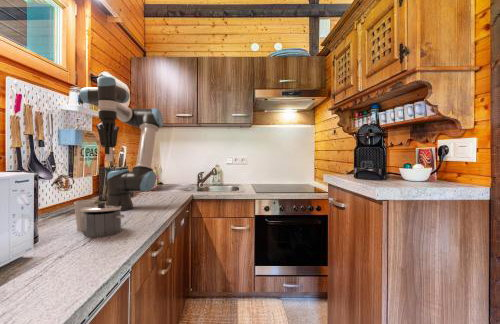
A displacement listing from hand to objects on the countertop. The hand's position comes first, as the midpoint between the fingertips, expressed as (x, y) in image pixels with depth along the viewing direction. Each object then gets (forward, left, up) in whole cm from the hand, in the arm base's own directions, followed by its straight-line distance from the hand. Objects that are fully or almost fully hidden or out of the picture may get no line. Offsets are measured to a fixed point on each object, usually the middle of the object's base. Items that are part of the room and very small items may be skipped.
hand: (109, 161), depth 131 cm
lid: (+15, +8, -20) cm, 26 cm away
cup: (+10, -5, -30) cm, 32 cm away
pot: (+15, +8, -29) cm, 34 cm away
